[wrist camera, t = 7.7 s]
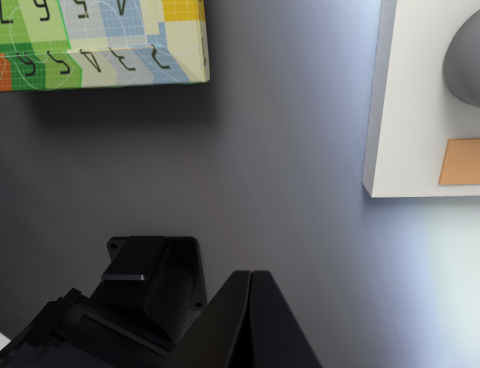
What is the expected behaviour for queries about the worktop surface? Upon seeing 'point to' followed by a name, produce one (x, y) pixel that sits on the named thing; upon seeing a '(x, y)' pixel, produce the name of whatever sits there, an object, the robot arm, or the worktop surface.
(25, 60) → the puzzle game
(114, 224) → the worktop surface
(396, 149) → the button board
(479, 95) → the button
